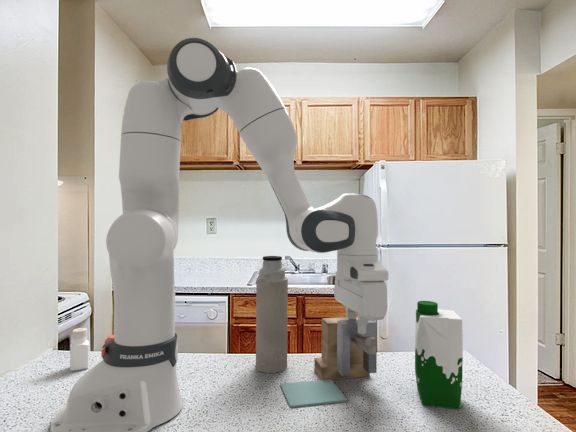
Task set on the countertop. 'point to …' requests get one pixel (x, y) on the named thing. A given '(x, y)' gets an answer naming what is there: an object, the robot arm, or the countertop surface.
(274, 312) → the thermos bottle
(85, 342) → the salt shaker
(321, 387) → the mat
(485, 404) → the countertop surface
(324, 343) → the wooden peg hook block
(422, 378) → the milk carton
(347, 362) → the grey arched block
